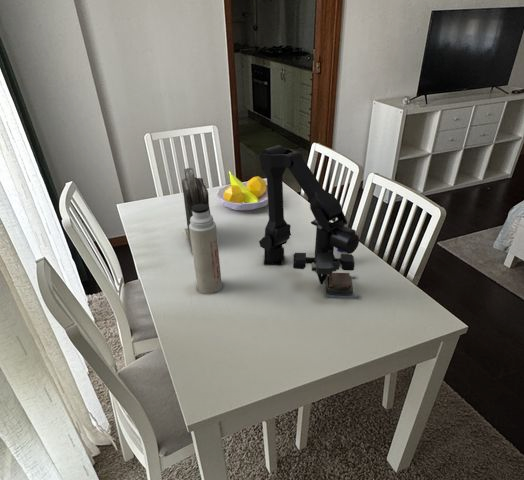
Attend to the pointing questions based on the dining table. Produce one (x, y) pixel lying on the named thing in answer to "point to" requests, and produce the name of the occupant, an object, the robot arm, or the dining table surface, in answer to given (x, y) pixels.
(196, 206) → the thermos bottle
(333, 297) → the strips
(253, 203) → the fruit bowl
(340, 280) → the brown box
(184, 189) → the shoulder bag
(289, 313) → the dining table surface
